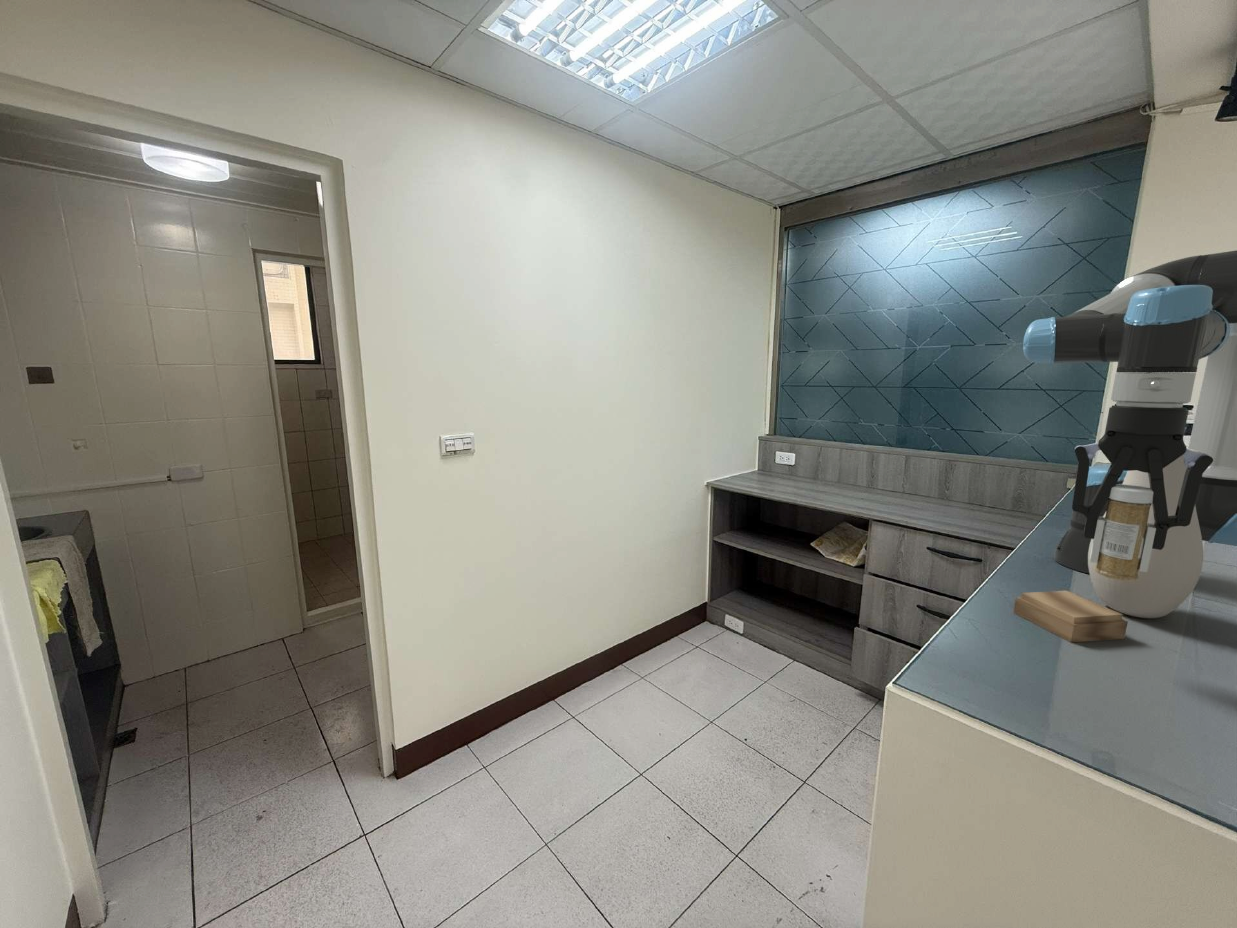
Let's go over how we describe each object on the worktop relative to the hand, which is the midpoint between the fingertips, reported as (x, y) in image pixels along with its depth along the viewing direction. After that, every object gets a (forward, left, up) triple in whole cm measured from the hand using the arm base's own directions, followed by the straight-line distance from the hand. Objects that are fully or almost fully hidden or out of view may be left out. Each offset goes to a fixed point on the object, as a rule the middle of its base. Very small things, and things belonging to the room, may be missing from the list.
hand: (1117, 563), depth 72 cm
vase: (-22, -12, -15) cm, 29 cm away
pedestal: (-5, -9, -15) cm, 18 cm away
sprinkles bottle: (0, 0, -2) cm, 2 cm away
